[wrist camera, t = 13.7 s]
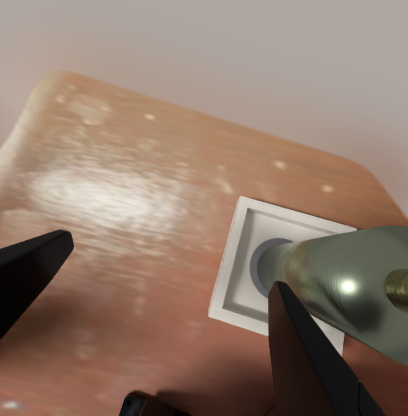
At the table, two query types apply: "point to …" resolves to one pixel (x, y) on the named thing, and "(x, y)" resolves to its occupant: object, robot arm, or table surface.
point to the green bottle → (350, 283)
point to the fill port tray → (248, 258)
